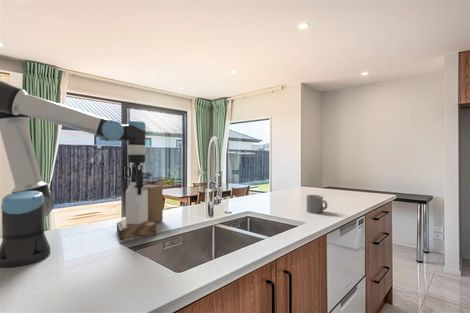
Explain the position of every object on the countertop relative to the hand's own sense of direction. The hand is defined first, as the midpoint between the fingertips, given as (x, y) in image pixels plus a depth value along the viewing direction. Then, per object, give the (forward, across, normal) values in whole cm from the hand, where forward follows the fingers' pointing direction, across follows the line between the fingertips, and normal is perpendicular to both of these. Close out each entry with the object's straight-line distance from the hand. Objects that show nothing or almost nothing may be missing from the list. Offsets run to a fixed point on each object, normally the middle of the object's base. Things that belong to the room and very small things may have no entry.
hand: (136, 199), depth 120 cm
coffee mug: (+14, -12, -107) cm, 108 cm away
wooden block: (+16, +16, -10) cm, 25 cm away
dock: (+16, 0, -1) cm, 16 cm away
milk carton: (+11, 0, 0) cm, 11 cm away
